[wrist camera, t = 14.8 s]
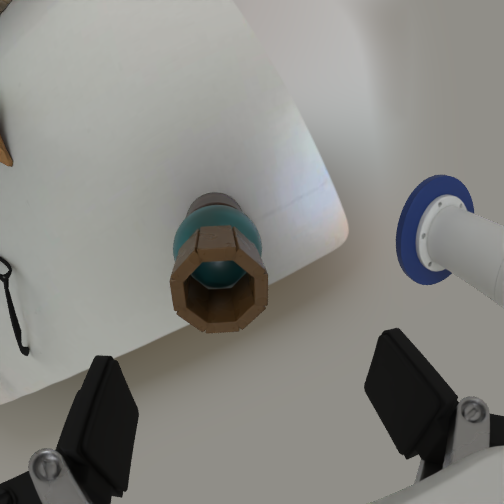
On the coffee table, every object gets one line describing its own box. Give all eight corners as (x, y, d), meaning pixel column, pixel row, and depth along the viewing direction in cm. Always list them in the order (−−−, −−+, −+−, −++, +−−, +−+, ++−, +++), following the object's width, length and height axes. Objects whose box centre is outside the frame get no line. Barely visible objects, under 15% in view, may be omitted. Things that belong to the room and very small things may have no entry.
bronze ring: (256, 223, 20) (268, 244, 16) (257, 295, 22) (267, 329, 18) (175, 228, 19) (165, 250, 15) (183, 299, 21) (178, 335, 17)
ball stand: (245, 187, 31) (270, 213, 19) (246, 248, 34) (269, 306, 22) (180, 191, 30) (162, 220, 18) (185, 252, 33) (174, 313, 21)
